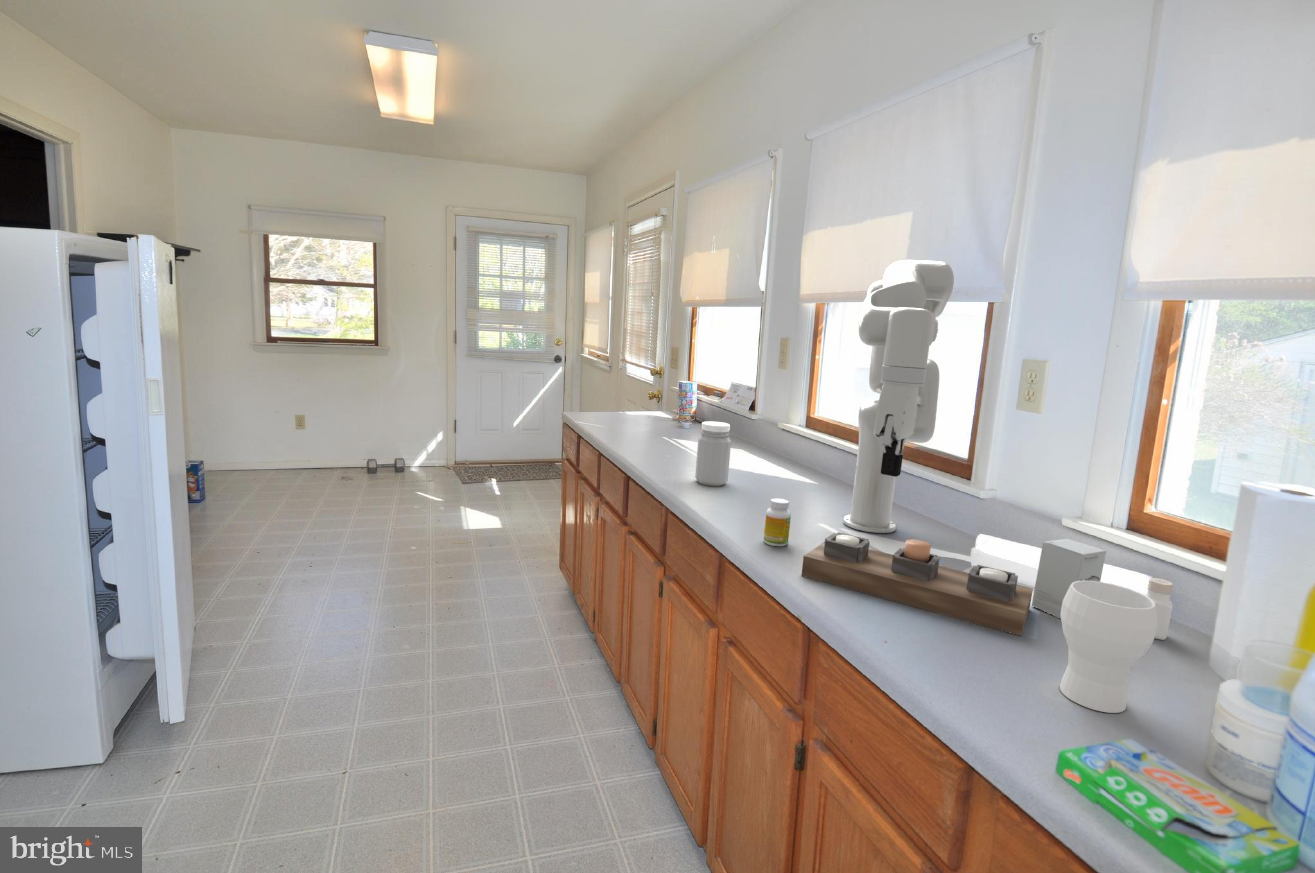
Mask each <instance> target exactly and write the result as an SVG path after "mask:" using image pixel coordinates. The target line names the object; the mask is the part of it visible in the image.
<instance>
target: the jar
mask: <svg viewBox="0 0 1315 873" xmlns="http://www.w3.org/2000/svg"><path fill="white" fill-rule="evenodd" d="M730 430H731V425H730V423H727V422H721V421H713V420H712V421H709V420H708V421H702V422H701V432H700V433H701V434H700V435H699V436H698V440H697V449H696V450H697V451H696V463H695V464H696V465H695V475H694V478H695V479H696V481H697V482H698V483H699V484H700V485H702V486H703V485H705V486H710V487H721V486H724V485H725V484H726V483H727V482H728V481H729V480H728V478H729V470H730V469H729V468H730V459H731V458H730V457H731V448H732V447H731V446H732V440H731V439H730V437H729V436H730V433H729V432H730Z"/></svg>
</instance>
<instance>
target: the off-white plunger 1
mask: <svg viewBox="0 0 1315 873" xmlns="http://www.w3.org/2000/svg"><path fill="white" fill-rule="evenodd" d="M850 535H851V534H848V535H837V536H836V541H837V542H841V543H845V544H849V545H854V546H858V545H859V539H858V538H856V537H857V536H856V537H854V536H855V535H852V536H850Z"/></svg>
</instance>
